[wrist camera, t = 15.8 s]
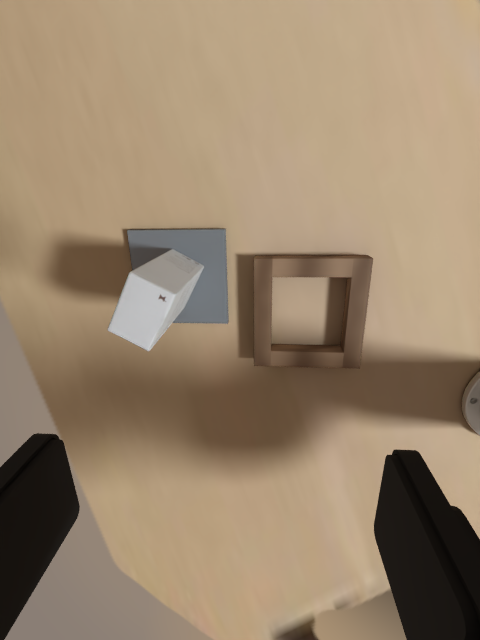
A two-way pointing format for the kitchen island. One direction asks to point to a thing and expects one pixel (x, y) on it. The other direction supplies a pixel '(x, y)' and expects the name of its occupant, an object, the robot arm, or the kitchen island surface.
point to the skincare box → (154, 298)
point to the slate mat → (201, 247)
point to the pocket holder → (353, 318)
